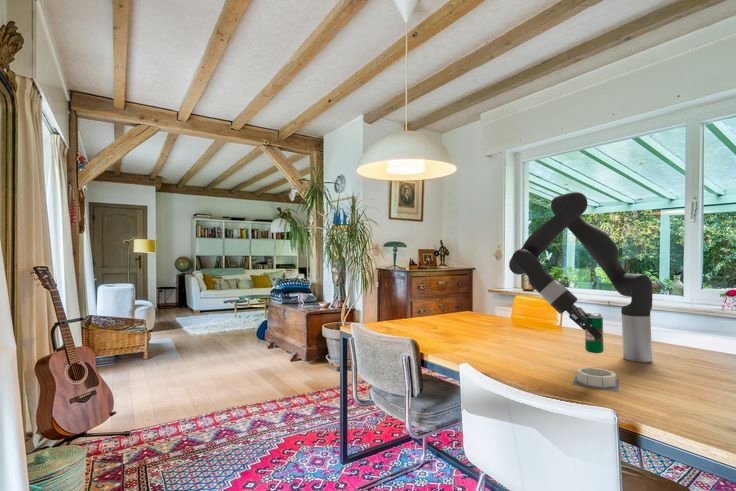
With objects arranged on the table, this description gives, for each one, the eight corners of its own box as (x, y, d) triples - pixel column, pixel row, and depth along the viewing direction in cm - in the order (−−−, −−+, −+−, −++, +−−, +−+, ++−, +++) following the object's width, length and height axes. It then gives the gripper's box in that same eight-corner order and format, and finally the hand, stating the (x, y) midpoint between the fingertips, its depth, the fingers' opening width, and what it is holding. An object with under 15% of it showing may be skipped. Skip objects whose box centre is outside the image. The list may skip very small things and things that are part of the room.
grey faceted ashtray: (579, 374, 127) (579, 365, 128) (616, 380, 121) (615, 370, 122) (575, 383, 119) (575, 373, 119) (615, 389, 113) (614, 379, 113)
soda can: (581, 350, 123) (580, 313, 123) (596, 349, 123) (595, 312, 124) (592, 353, 118) (591, 315, 118) (607, 353, 118) (606, 315, 119)
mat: (577, 374, 129) (577, 373, 129) (619, 380, 122) (619, 379, 122) (572, 385, 118) (572, 384, 118) (618, 393, 111) (618, 391, 111)
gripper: (563, 290, 120) (609, 332, 112) (569, 287, 131) (611, 325, 124) (545, 306, 123) (589, 348, 115) (553, 301, 134) (593, 339, 127)
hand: (600, 336), depth 120 cm, fingers closed on soda can, 5 cm apart
